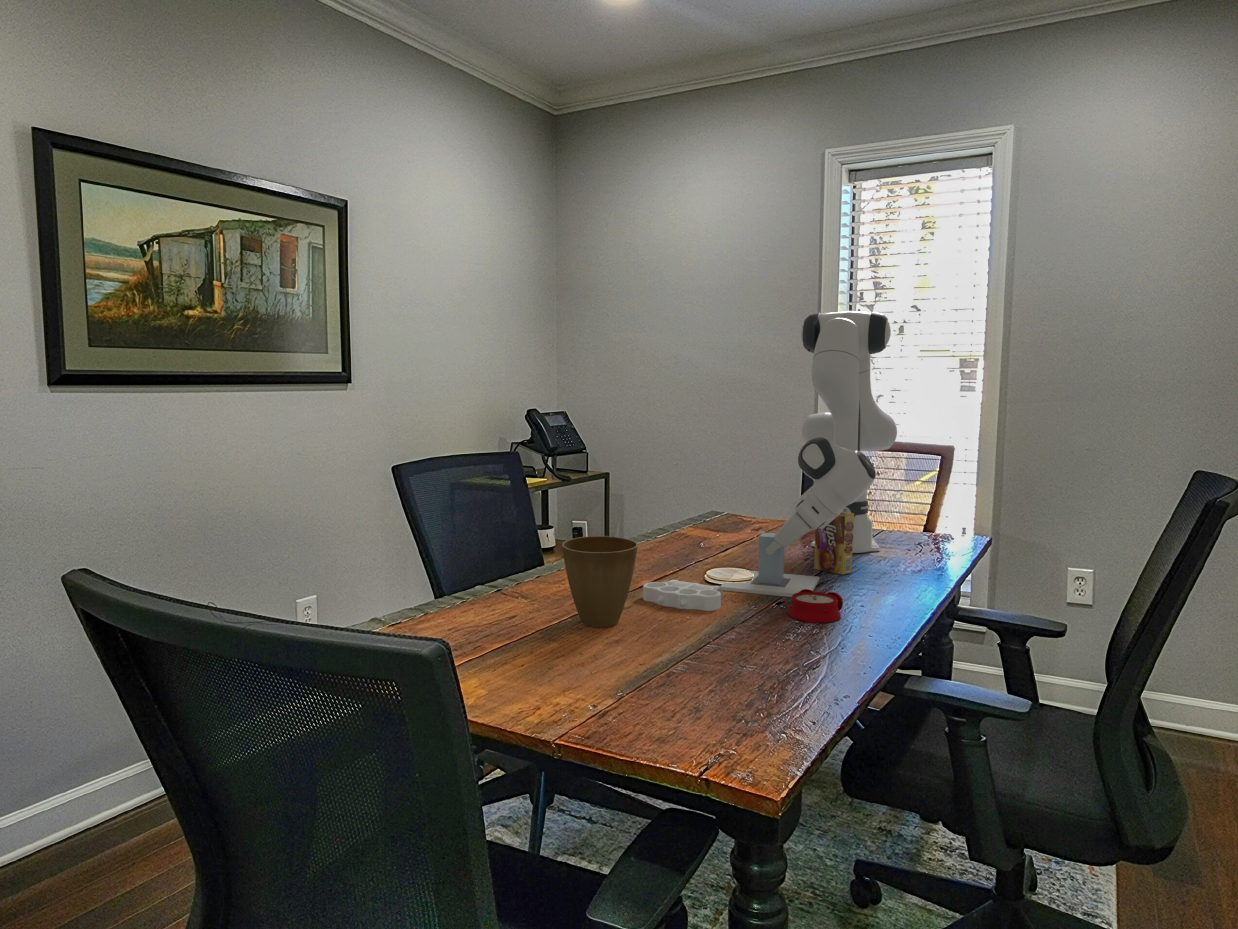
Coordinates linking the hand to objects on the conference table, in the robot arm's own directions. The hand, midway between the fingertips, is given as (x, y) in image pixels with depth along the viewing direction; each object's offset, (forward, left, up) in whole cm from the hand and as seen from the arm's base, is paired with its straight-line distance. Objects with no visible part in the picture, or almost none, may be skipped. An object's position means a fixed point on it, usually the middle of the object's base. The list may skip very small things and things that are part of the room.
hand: (771, 548), depth 188 cm
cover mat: (0, 0, -9) cm, 9 cm away
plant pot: (+42, -26, -9) cm, 50 cm away
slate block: (0, 0, -8) cm, 8 cm away
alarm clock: (+20, +13, -9) cm, 26 cm away
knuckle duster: (+21, -15, -9) cm, 27 cm away
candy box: (-20, +12, -9) cm, 25 cm away
